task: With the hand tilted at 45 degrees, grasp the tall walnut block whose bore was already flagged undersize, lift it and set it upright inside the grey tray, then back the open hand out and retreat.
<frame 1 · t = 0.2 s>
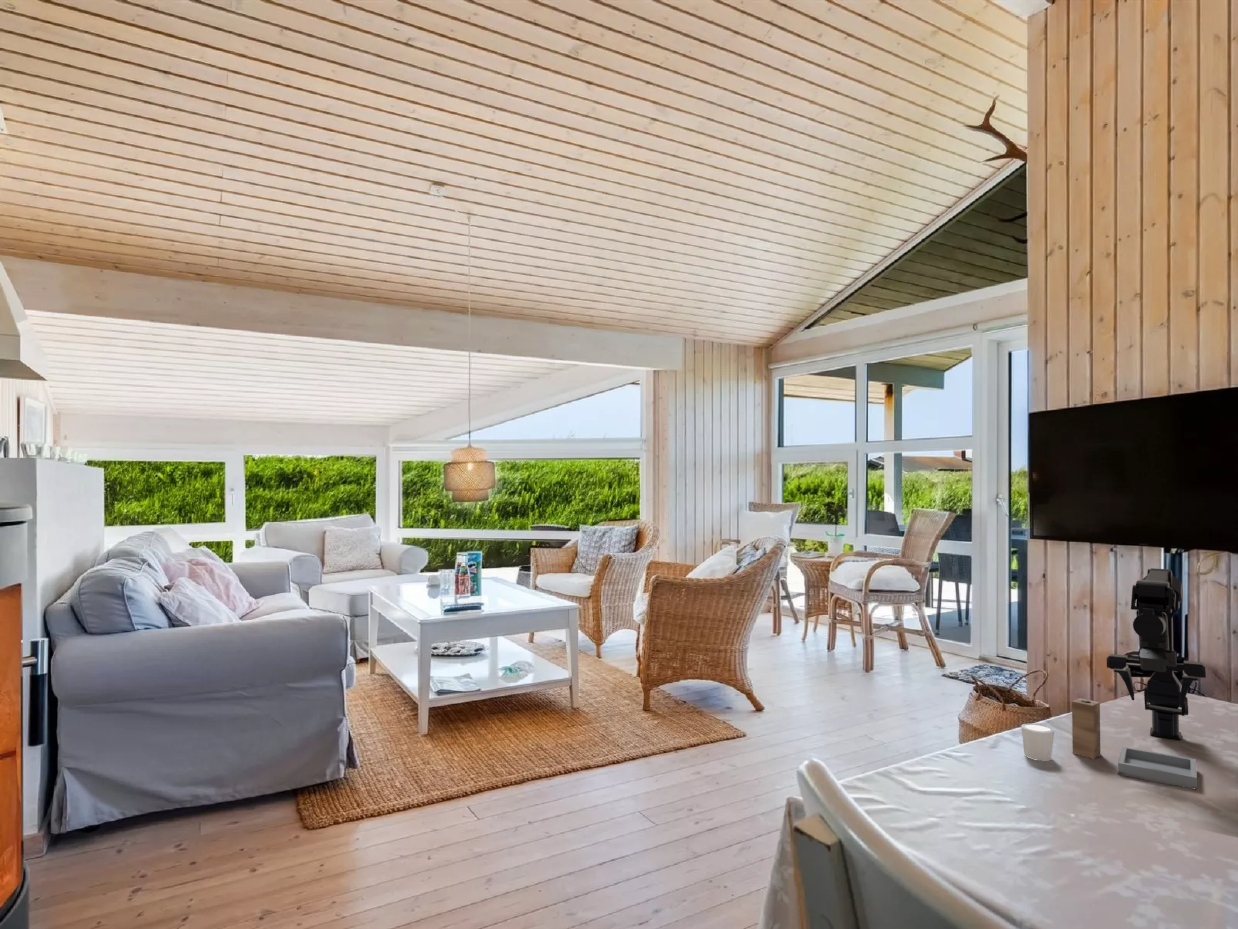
hand: (1157, 703, 174), 14 cm above the table, tool pointing down, fingers open, 9 cm apart
grey tray: (1157, 772, 168), on the table
white cup: (1037, 758, 178), on the table
walnut block: (1086, 753, 180), on the table
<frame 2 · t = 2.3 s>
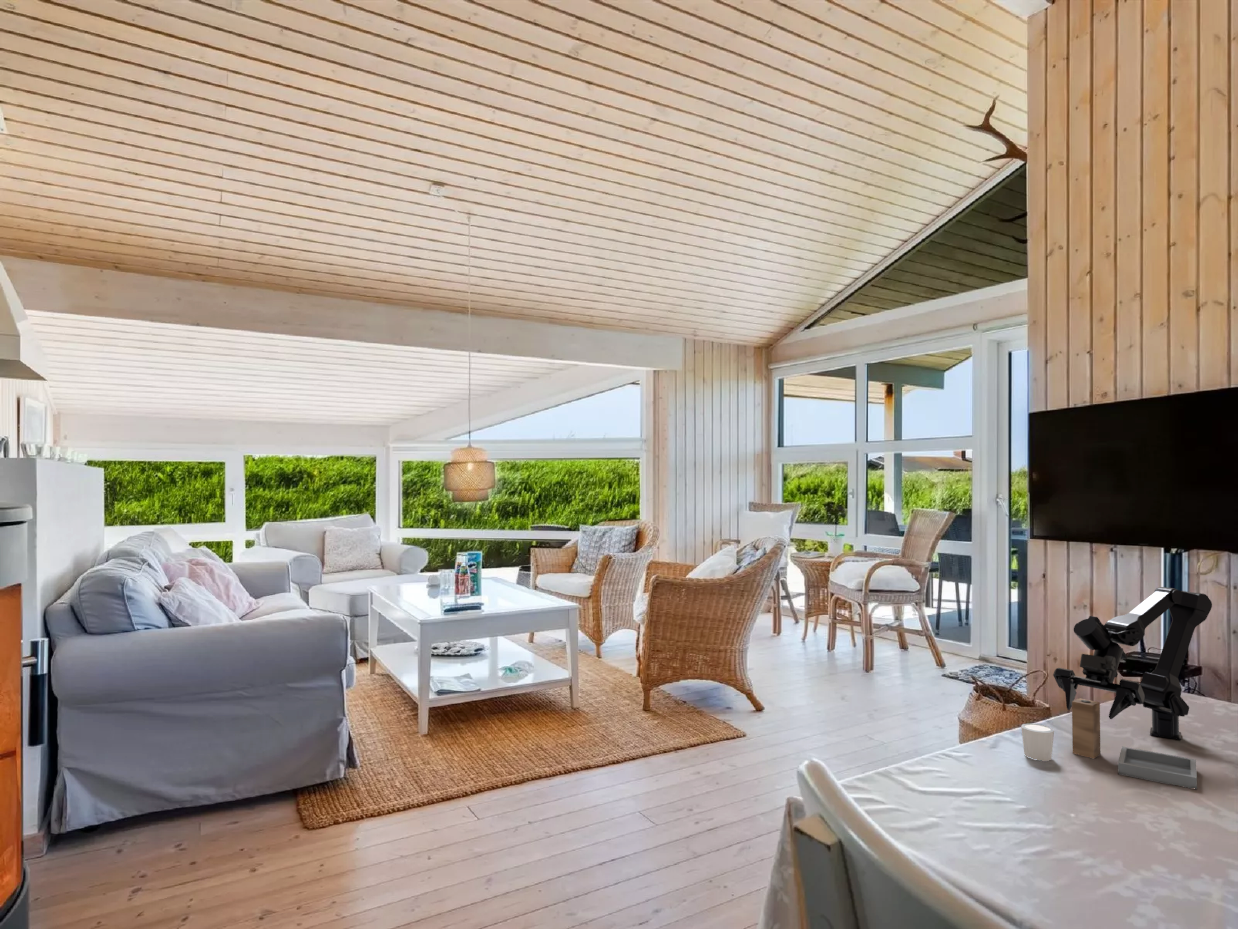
hand: (1088, 713, 182), 9 cm above the table, tool tilted 45°, fingers open, 9 cm apart
nothing on the table moved.
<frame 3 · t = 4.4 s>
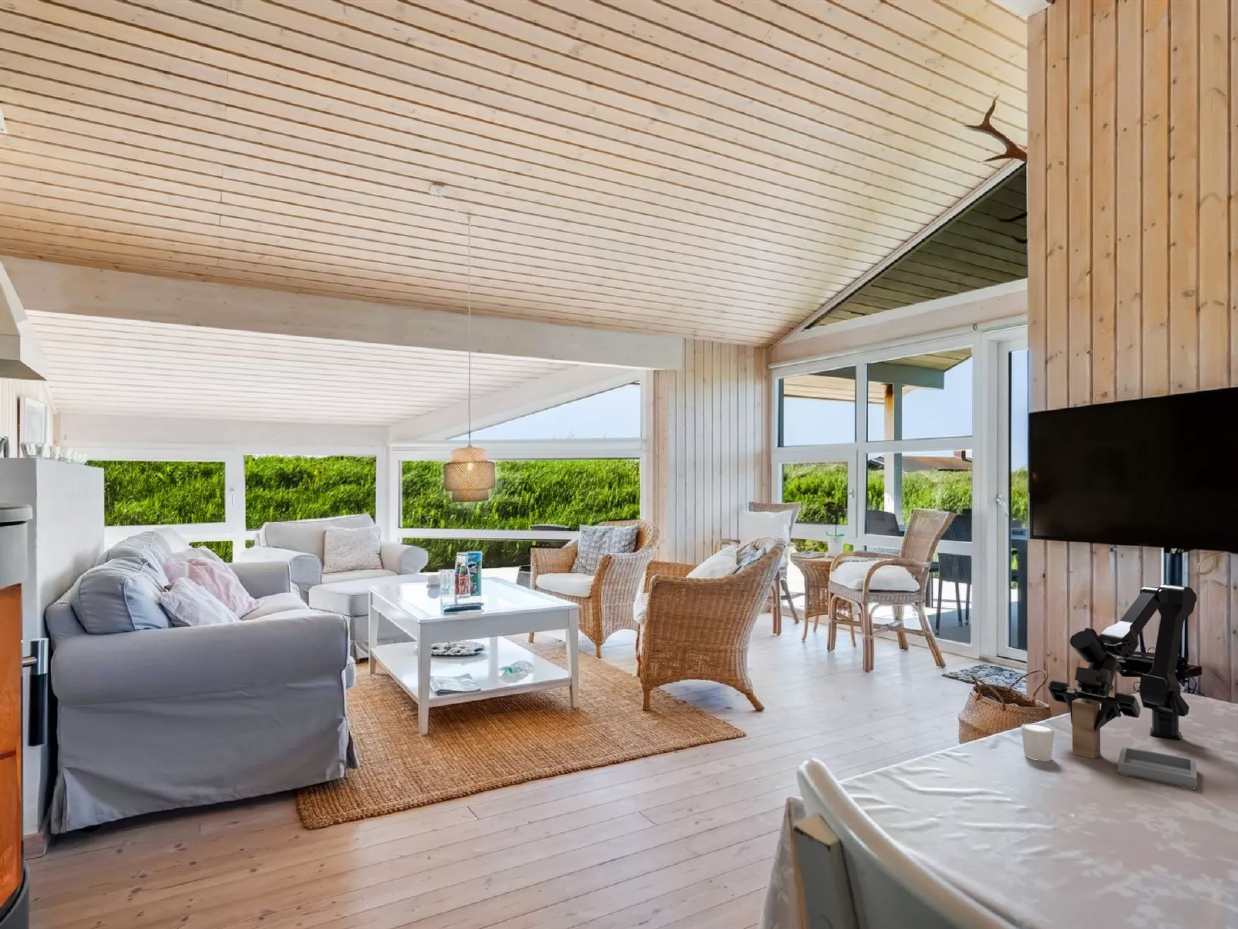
hand: (1083, 727, 179), 7 cm above the table, tool tilted 45°, fingers closed on walnut block, 4 cm apart
walnut block: (1086, 753, 180), on the table, touching gripper
everything else where it was.
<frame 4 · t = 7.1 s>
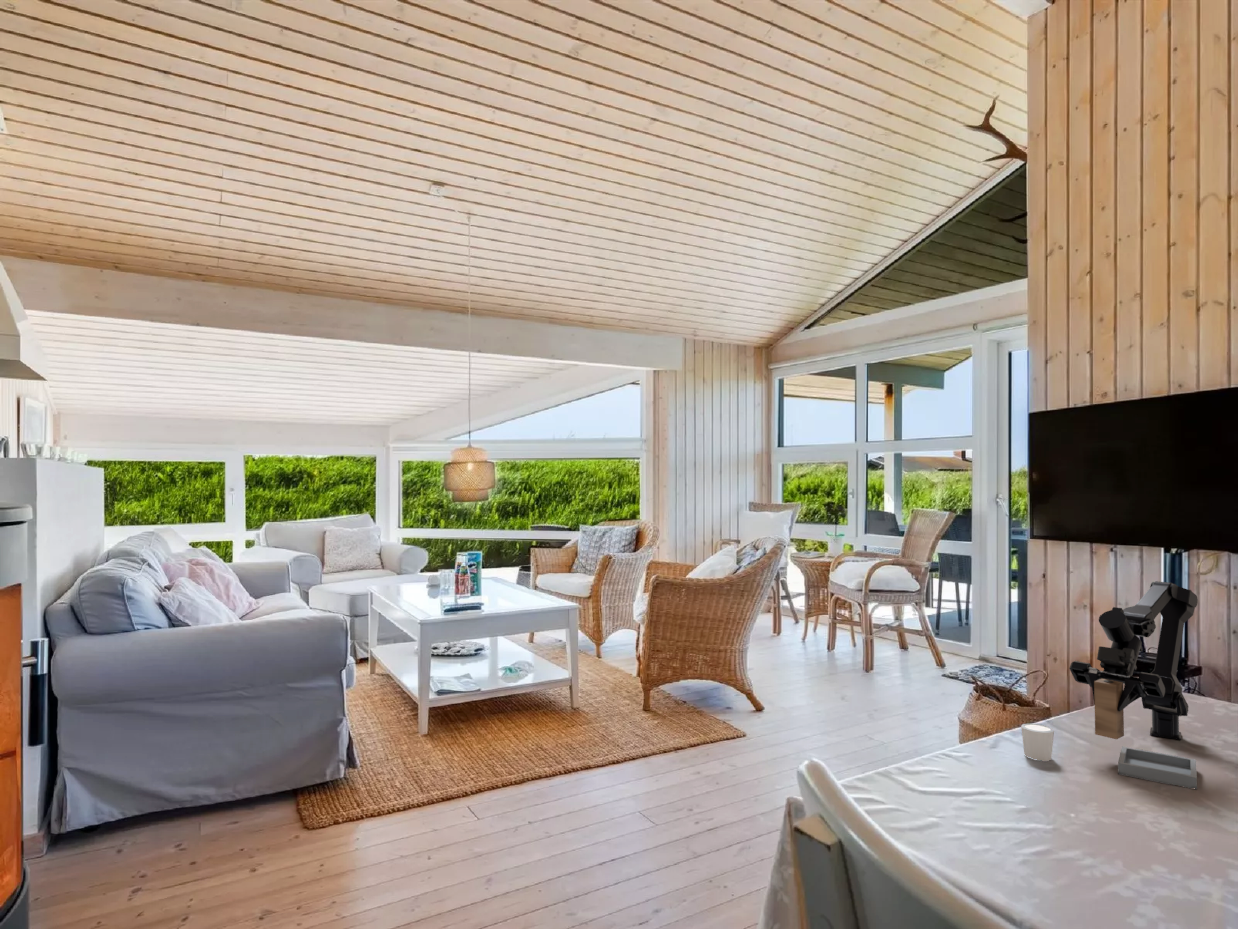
hand: (1106, 707, 176), 12 cm above the table, tool tilted 45°, fingers closed on walnut block, 4 cm apart
walnut block: (1109, 735, 176), point 6 cm above the table, touching gripper
everything else where it was.
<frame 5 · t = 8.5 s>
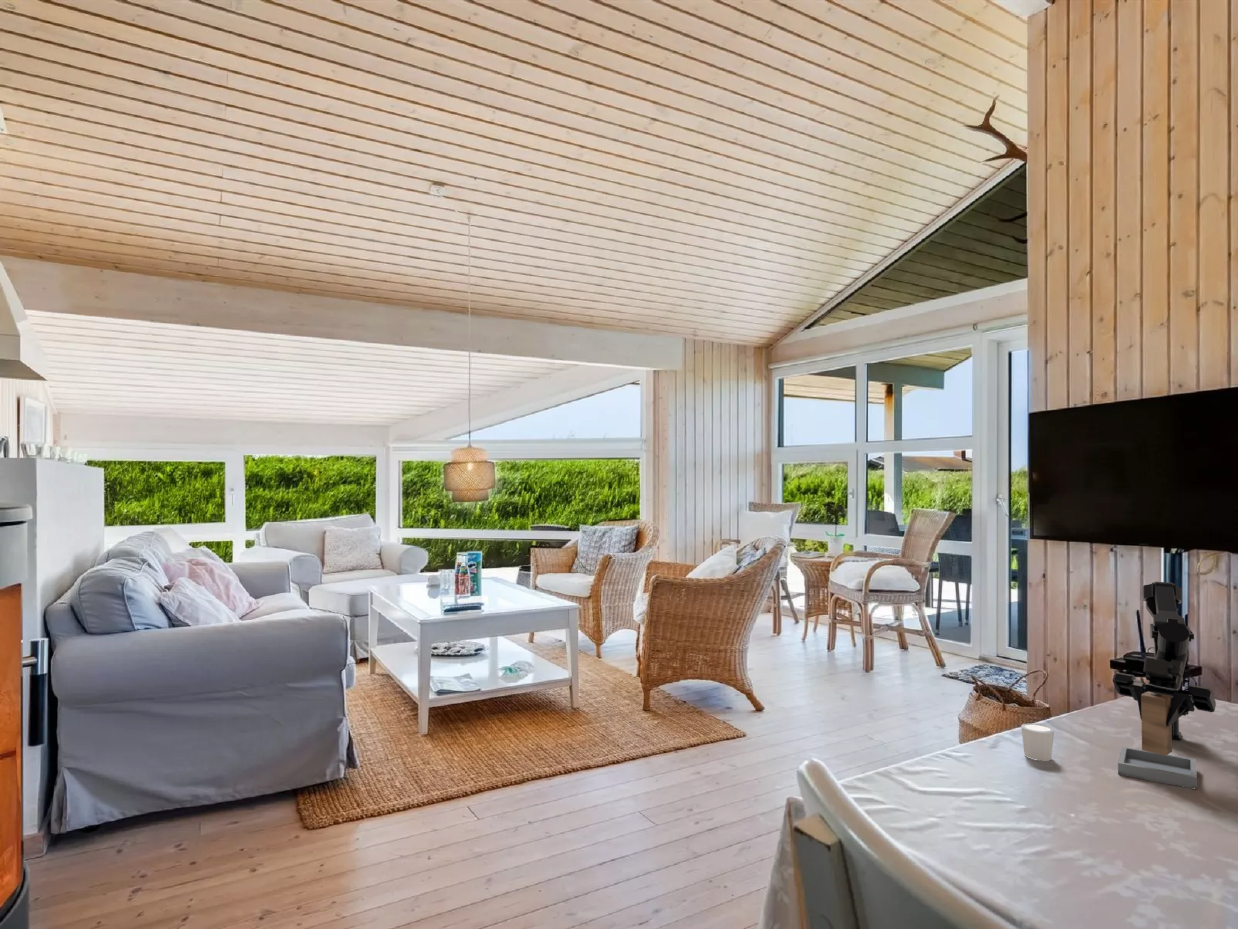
hand: (1154, 722, 168), 11 cm above the table, tool tilted 45°, fingers closed on walnut block, 4 cm apart
walnut block: (1156, 750, 169), point 5 cm above the table, touching gripper
everything else where it was.
when the fingers open (9 cm above the table, at t = 9.8 s): walnut block drops 1 cm, resting on grey tray.
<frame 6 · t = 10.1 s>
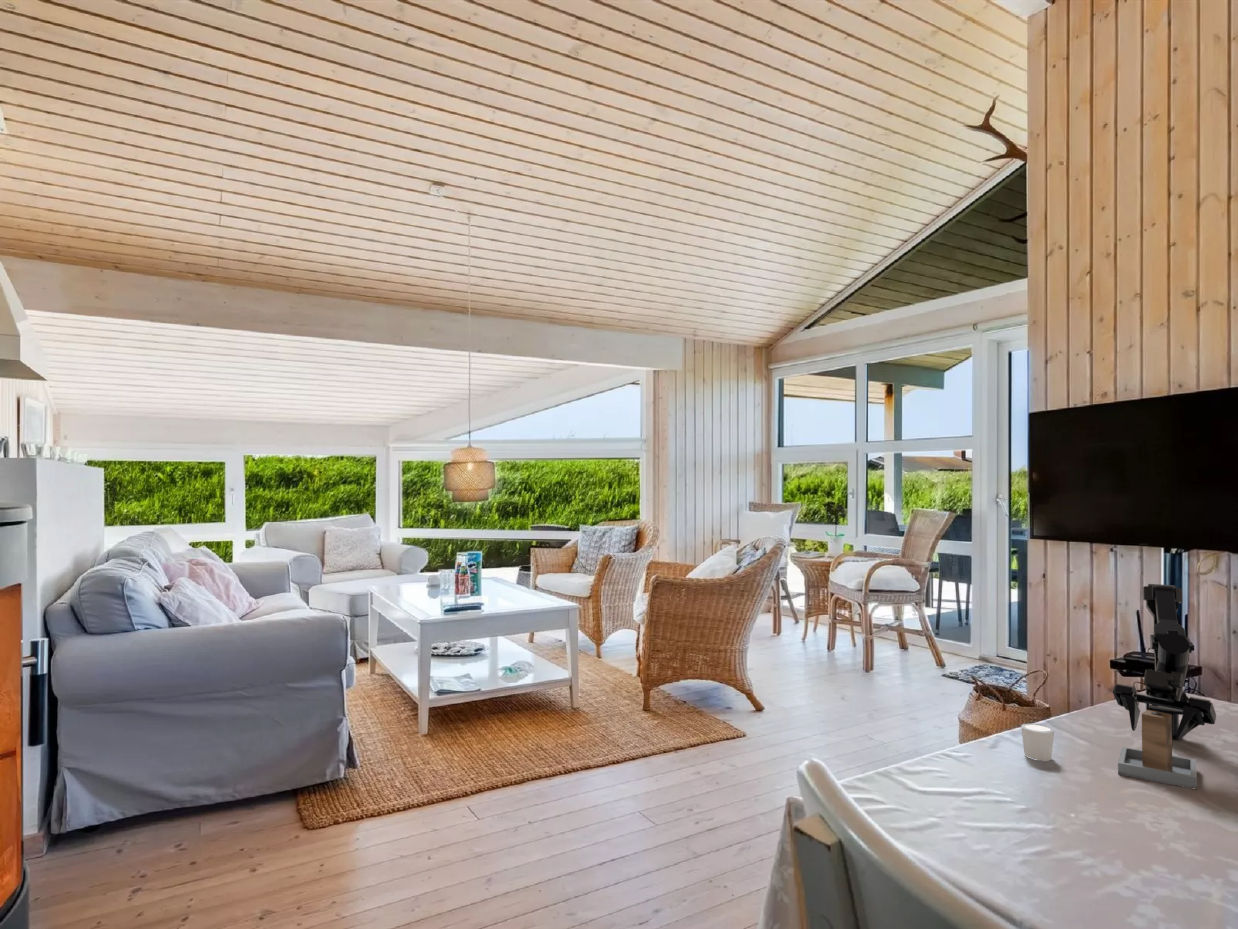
hand: (1154, 734, 168), 9 cm above the table, tool tilted 45°, fingers open, 8 cm apart
walnut block: (1157, 769, 168), point 1 cm above the table, touching grey tray
everything else where it was.
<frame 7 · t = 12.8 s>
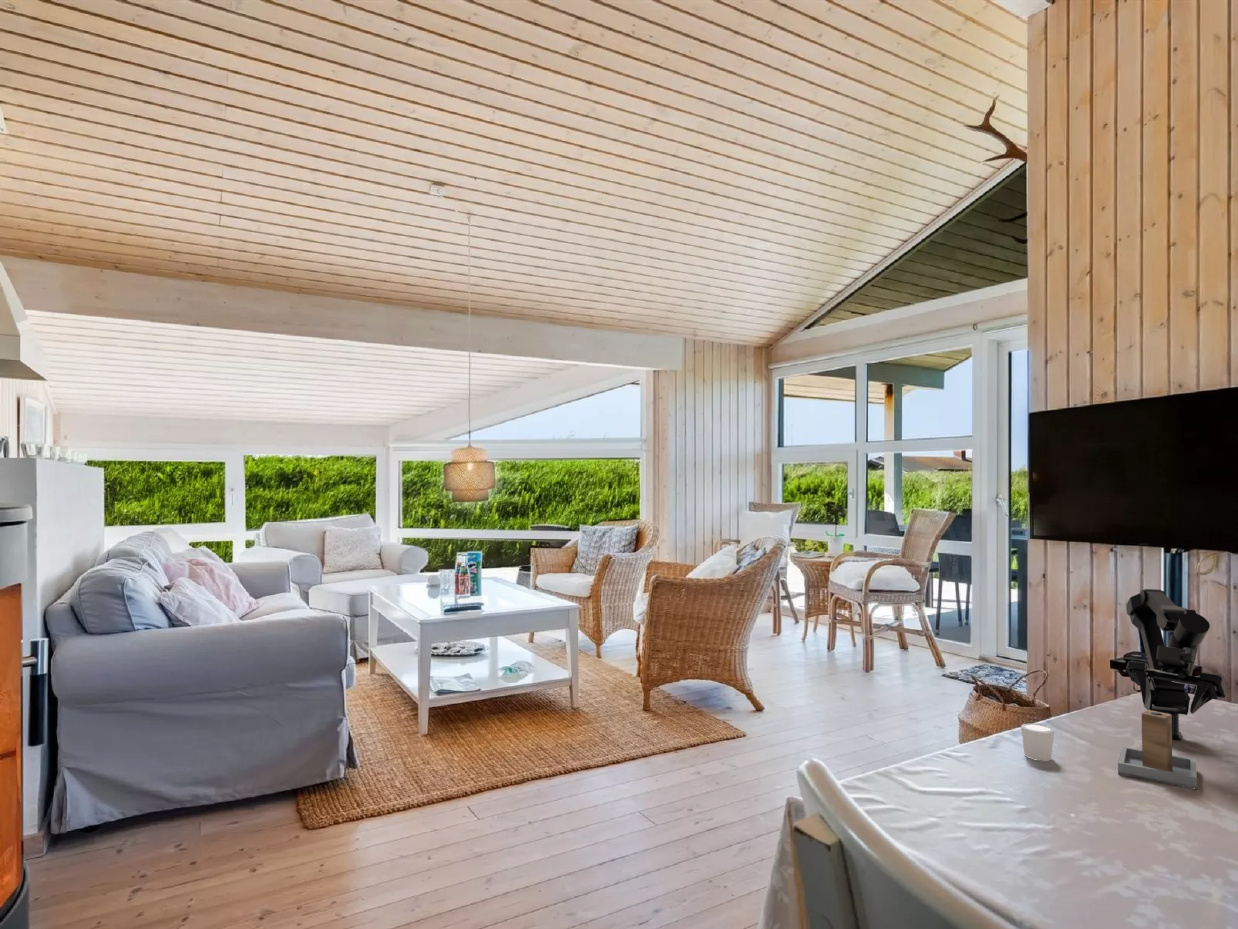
hand: (1167, 707, 174), 13 cm above the table, tool tilted 45°, fingers open, 9 cm apart
nothing on the table moved.
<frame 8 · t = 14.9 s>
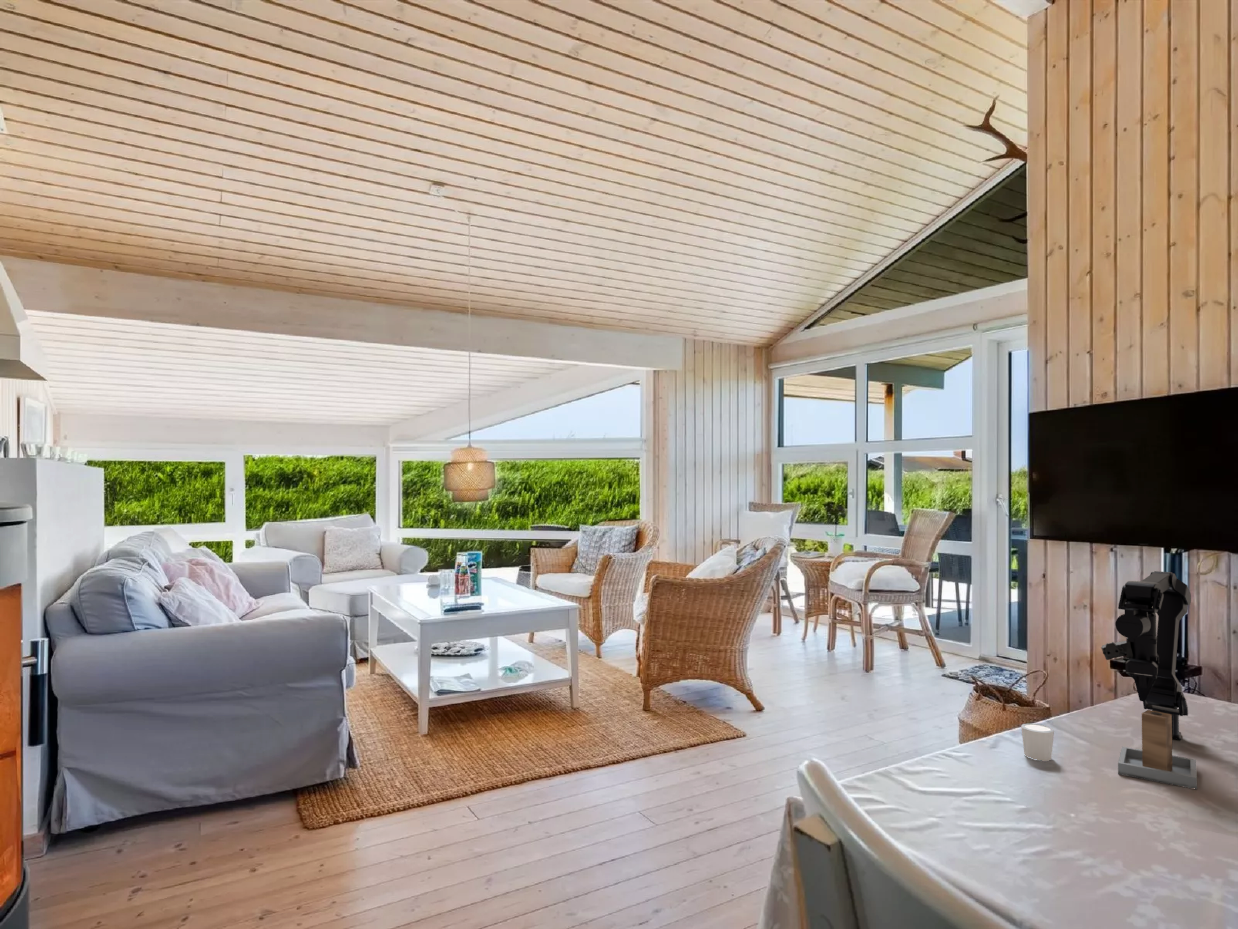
hand: (1143, 697, 183), 13 cm above the table, tool pointing down, fingers open, 9 cm apart
nothing on the table moved.
at the end: walnut block inside the target area on the grey tray (0.0 cm from its centre), point 0.6 cm above the grey tray's base; walnut block tilted 0°; the gripper is holding nothing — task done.
